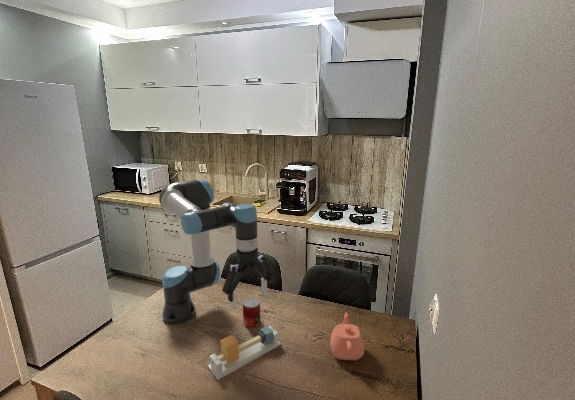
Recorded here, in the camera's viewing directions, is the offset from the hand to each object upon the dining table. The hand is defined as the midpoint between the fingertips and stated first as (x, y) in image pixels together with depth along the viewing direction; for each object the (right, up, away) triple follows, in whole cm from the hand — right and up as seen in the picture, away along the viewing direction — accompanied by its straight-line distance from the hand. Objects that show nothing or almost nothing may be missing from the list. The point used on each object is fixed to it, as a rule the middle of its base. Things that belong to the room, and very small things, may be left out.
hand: (249, 301), depth 115 cm
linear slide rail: (-3, -25, +10) cm, 27 cm away
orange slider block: (-8, -24, +5) cm, 25 cm away
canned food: (-2, -20, +30) cm, 36 cm away
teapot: (+38, -25, +12) cm, 47 cm away
